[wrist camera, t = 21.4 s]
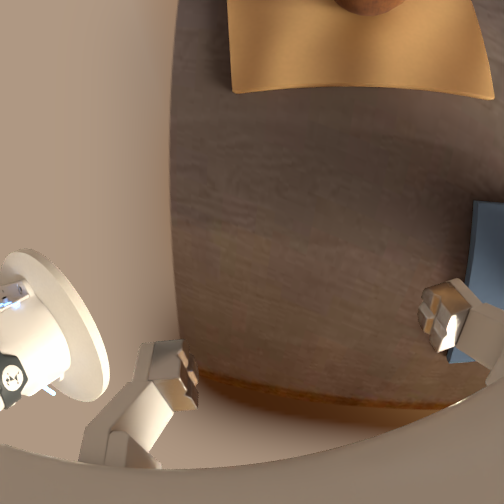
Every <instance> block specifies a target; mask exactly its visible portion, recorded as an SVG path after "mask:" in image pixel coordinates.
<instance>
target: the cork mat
mask: <svg viewBox="0 0 504 504" xmlns="http://www.w3.org/2000/svg"><path fill="white" fill-rule="evenodd" d="M227 11H228V29H229V46H230V63H231V79H232V92H234V93H236V94H240V93H248V92H257V91H266V90H277V89H289V88H305V87H332V86H363V87H389V88H404V89H416V90H426V91H435V92H443V93H450V94H457V95H463V96H469V97H474V98H480V99H485V100H492V99H494V91H493V84H492V79H491V73H490V68H489V63H488V58H487V54H486V50H485V45H484V42H483V38H482V34H481V30H480V27H479V24H478V20H477V17H476V14H475V11H474V8H473V5H472V2H471V0H405V1H404V2H403V3H402V4H400V5H399V6H397V7H395V8H394V9H392V10H390V11H389V12H386V13H383V14H380V15H376V16H360V15H357V14H354V13H351V12H348V11H347V10H345V9H344V8H342V7H341V6H339V5H338V4H337V3H336V2H335V1H334V0H227Z"/></svg>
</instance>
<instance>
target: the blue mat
mask: <svg viewBox="0 0 504 504" xmlns="http://www.w3.org/2000/svg"><path fill="white" fill-rule="evenodd" d="M464 284H465V285H466V286H467V287H468V288H469V289H470V290H471V291H472V292H473V293H474V294H475V296H476V297H477V298H478V299H479V300H480V301H481V302H482V303H488V304H490V305H492V306H495V307H497V308H500V309H502V310H504V203H499V202H488V201H475V200H474V202H473V218H472V230H471V240H470V249H469V256H468V264H467V270H466V276H465V282H464ZM447 360H448V362H449V363H461V362H472V361H476V360H474V359H473V358H471V357H470V356H468V355H467V354H465V353H464V352H462V351H460V350H459V349H457V348H456V346H454V347H452V348H449V350H448V354H447Z"/></svg>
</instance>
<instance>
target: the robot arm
mask: <svg viewBox="0 0 504 504" xmlns="http://www.w3.org/2000/svg"><path fill="white" fill-rule="evenodd" d="M421 298H422V300H423V302H422V304H421V305H420V306H419V309H418V314H417V315H418V322H419V325H420V327H421V329H422V330H423V332H425V333H427V334H430V336H429V341H430V342H431V344H432V345H433V347H434V348H435V350H436V351H437V353H438V352H441V351H444V350H446V349H449V348H452V347H454V346H456V348H457V349H459V350H460V351H462V352H464V353H465V354H467V355H468V356H470V357H471V358H473V359H474V360H476V361H477V362H479V363H480V364H482V365H484V366H485V367H487V368H488V369H490V370H491V372H490V373H489V375H488V377H487V378H486V381H485V383H486V385H487V387H485V388H483V389H481V390H480V391H478V392H476V393H474V394H472V395H470V396H468V397H467V398H465V399H463V400H461V401H459V402H457V403H455V404H453V405H451V406H449V407H447V408H445V409H442V410H440V411H438V412H436V413H434V414H431V415H429V416H427V417H425V418H422V419H420V420H417V421H415V422H413V423H410V424H408V425H405V426H403V427H400V428H397V429H395V430H392V431H389V432H386V433H384V434H380V435H378V436H375V437H372V438H368V439H365V440H362V441H359V442H355V443H352V444H348V445H345V446H341V447H338V448H334V449H330V450H326V451H322V452H317V453H313V454H309V455H304V456H299V457H294V458H289V459H283V460H277V461H271V462H265V463H257V464H249V465H241V466H230V467H219V468H202V469H161V466H162V465H161V463H160V462H159V461H158V460H157V459H155V458H154V457H153V456H152V455H151V454H150V453H148V452H149V451H150V449H151V448H152V446H153V445H154V443H155V442H156V440H157V438H158V437H159V435H160V434H161V432H162V431H163V429H164V428H165V426H166V425H167V423H168V421H169V420H170V418H171V417H172V415H173V414H174V412H176V411H186V410H196V409H198V391H197V389H196V387H195V386H196V385H197V383H198V382H199V373H198V366H197V363H196V359H195V357H194V355H192V354H191V353H189V351H190V346H189V344H188V342H187V340H186V339H179V340H169V341H158V342H150V343H142V344H141V345H140V347H139V351H138V356H137V360H136V365H135V369H134V374H133V379H132V382H128V383H127V384H126V385H125V386H124V387H123V388H122V389H121V390H120V391H119V392H118V393H117V394H116V395H115V397H114V398H113V399H112V400H111V401H110V402H109V403H108V404H107V405H106V406H105V407H104V408H103V409H102V411H101V412H100V413H99V414H98V415H97V416H96V417H95V418H94V419H93V420H92V421H91V422H90V423H89V424H88V426H87V427H86V428H85V431H84V436H83V440H82V445H81V449H80V454H79V459H78V461H71V460H66V459H61V458H56V457H51V456H46V455H42V454H38V453H33V452H30V451H26V450H23V449H19V448H16V447H12V446H9V445H5V444H0V504H504V310H502V309H500V308H497V307H495V306H492V305H490V304H488V303H482V302H481V301H480V300H479V299H478V298H477V297H476V296H475V294H474V293H473V292H472V291H471V290H470V289H469V288H468V287H467V286H466V285H465V284H464V283H463V282H462V281H461V280H460V279H458V278H455V279H452V280H449V281H447V282H443V283H440V284H437V285H434V286H430V287H427V288H425V289H424V290H423V292H422V296H421ZM70 364H71V357H70V351H69V348H68V345H67V342H66V339H65V337H64V335H63V333H62V331H61V329H60V327H59V325H58V323H57V322H56V320H55V318H54V317H53V315H52V314H51V313H50V311H49V310H48V309H47V307H46V306H45V305H44V304H43V303H42V302H41V300H40V299H39V298H38V297H37V296H36V294H35V293H34V291H33V289H32V287H31V286H30V284H29V282H28V281H27V280H26V279H21V280H18V281H14V282H10V283H7V284H3V285H0V411H1V410H2V409H8V408H9V407H11V406H13V405H14V404H15V403H16V402H17V401H18V400H19V399H20V398H21V395H23V394H24V395H26V396H31V395H33V394H34V393H36V392H37V391H39V390H40V389H42V388H43V389H44V390H46V391H47V392H49V393H50V394H52V395H55V392H54V391H53V390H51V389H49V388H48V387H46V385H48V384H49V383H51V382H52V381H54V380H56V381H58V382H60V381H61V380H63V379H64V372H65V371H66V370H68V369H69V367H70Z"/></svg>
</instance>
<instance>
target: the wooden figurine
mask: <svg viewBox="0 0 504 504" xmlns="http://www.w3.org/2000/svg"><path fill="white" fill-rule="evenodd" d="M334 1H335V2H336V3H337V4H338V5H339V6H341V7H342V8H344V9H345V10H347V11H348V12H351V13H354V14H357V15H360V16H376V15H380V14H383V13H386V12H389V11H390V10H392V9H394V8H395V7H397V6H399V5H400V4H402V3H403V2H404V1H405V0H334Z"/></svg>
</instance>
